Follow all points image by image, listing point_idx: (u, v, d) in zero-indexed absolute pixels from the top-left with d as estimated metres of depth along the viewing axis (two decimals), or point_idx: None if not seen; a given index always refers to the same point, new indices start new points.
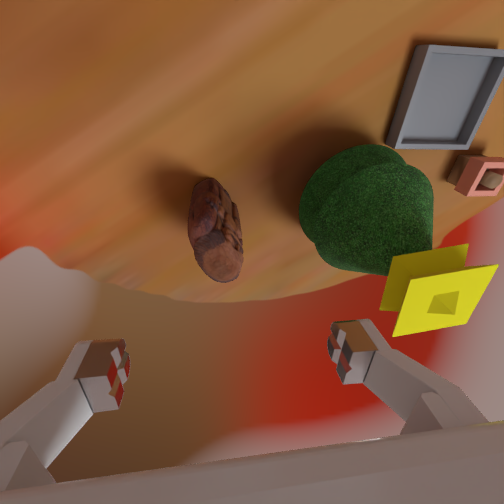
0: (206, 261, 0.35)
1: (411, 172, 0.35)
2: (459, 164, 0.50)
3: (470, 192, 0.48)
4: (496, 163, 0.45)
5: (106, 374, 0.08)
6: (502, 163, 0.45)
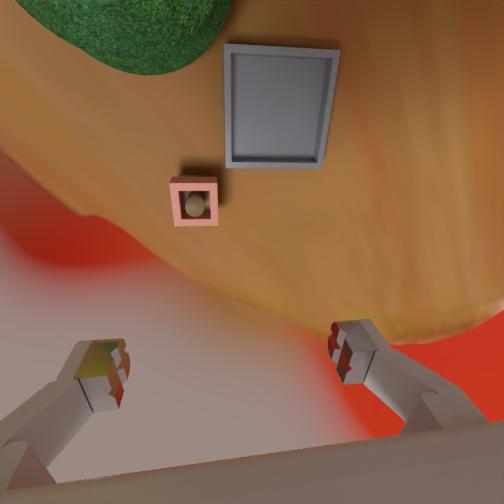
0: None
1: None
2: (203, 176, 0.39)
3: (175, 186, 0.35)
4: (216, 200, 0.36)
5: (106, 374, 0.08)
6: (216, 208, 0.37)
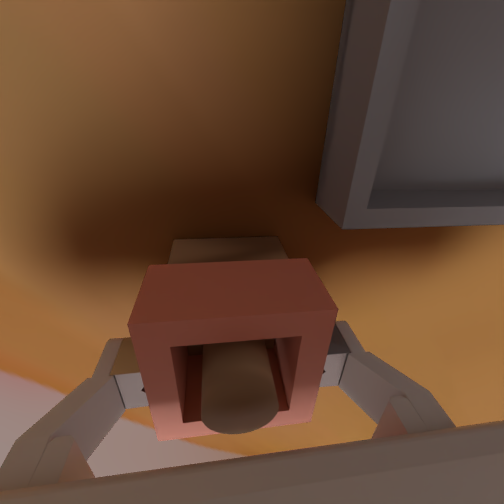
0: None
1: None
2: (251, 247, 0.12)
3: (156, 333, 0.08)
4: (319, 362, 0.09)
5: None
6: (314, 383, 0.10)
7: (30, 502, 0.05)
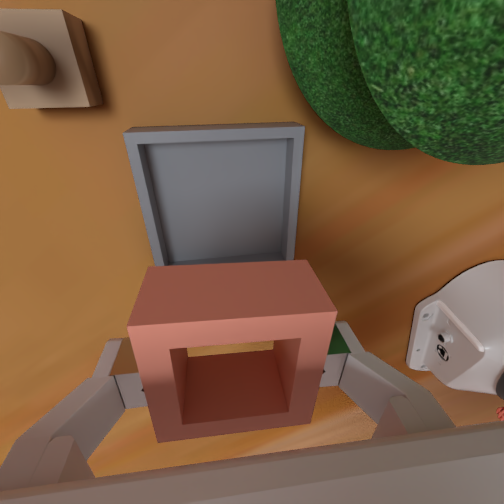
0: None
1: (470, 150, 0.12)
2: (92, 82, 0.19)
3: (155, 335, 0.08)
4: (319, 364, 0.09)
5: None
6: (314, 385, 0.10)
7: (30, 502, 0.05)
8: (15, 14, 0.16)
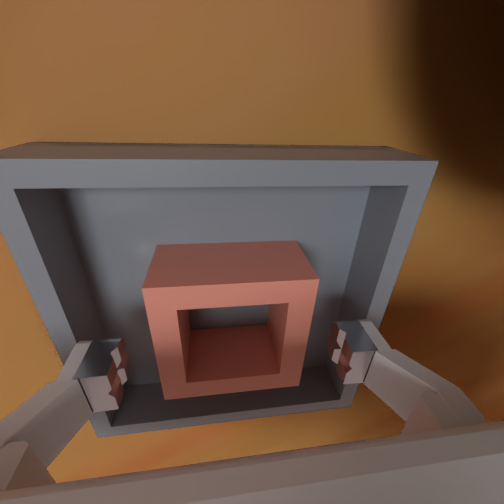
0: None
1: None
2: None
3: (165, 296, 0.09)
4: (305, 328, 0.11)
5: (106, 374, 0.08)
6: (301, 348, 0.11)
7: (30, 502, 0.05)
8: None
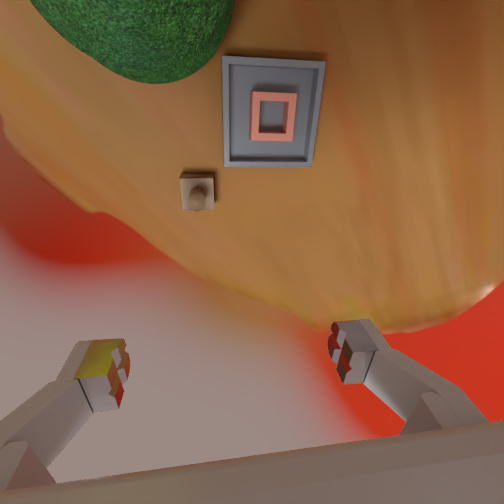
0: None
1: None
2: (203, 175, 0.43)
3: (254, 135, 0.38)
4: (270, 94, 0.36)
5: (106, 374, 0.08)
6: (278, 94, 0.36)
7: (30, 502, 0.05)
8: (182, 195, 0.42)
